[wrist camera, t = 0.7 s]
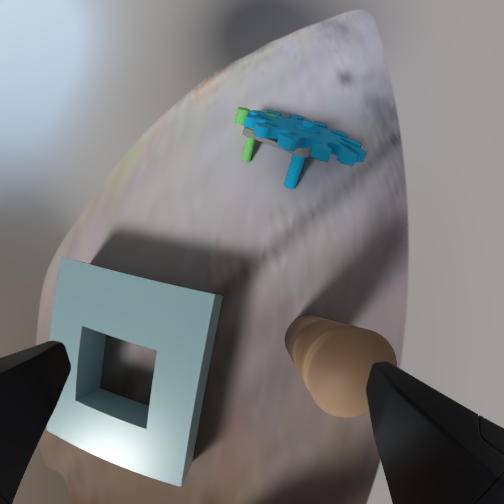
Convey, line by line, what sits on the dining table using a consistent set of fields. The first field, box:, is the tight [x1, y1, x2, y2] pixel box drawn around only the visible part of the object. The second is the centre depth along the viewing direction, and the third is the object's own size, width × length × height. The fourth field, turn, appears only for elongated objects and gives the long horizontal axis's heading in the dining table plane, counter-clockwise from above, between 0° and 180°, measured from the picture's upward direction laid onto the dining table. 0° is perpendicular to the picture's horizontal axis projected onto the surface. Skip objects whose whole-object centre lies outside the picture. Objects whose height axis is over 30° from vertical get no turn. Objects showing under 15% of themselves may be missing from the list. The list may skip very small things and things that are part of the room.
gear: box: [235, 107, 367, 189], centre depth 24 cm, size 11×6×10 cm
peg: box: [285, 315, 397, 417], centre depth 18 cm, size 4×4×12 cm
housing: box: [47, 257, 223, 487], centre depth 22 cm, size 16×13×4 cm
